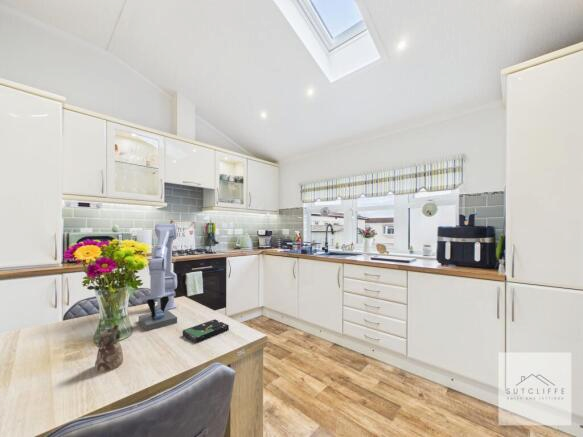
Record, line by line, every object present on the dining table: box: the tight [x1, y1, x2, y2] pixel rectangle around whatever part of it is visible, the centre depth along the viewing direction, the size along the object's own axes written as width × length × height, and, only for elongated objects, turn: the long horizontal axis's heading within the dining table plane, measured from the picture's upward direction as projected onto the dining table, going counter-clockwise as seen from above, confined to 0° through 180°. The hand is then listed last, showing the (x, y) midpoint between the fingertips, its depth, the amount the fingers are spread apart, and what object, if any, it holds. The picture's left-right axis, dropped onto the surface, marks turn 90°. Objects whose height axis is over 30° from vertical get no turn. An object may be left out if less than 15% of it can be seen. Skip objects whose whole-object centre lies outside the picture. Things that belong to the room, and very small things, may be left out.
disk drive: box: [182, 318, 230, 344], centre depth 102 cm, size 10×3×15 cm
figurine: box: [94, 324, 124, 374], centre depth 79 cm, size 7×7×12 cm
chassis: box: [138, 309, 178, 332], centre depth 113 cm, size 14×12×2 cm
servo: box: [153, 308, 164, 320], centre depth 112 cm, size 8×3×5 cm, turn 43°
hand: (157, 315), depth 113 cm, fingers closed on servo, 3 cm apart
